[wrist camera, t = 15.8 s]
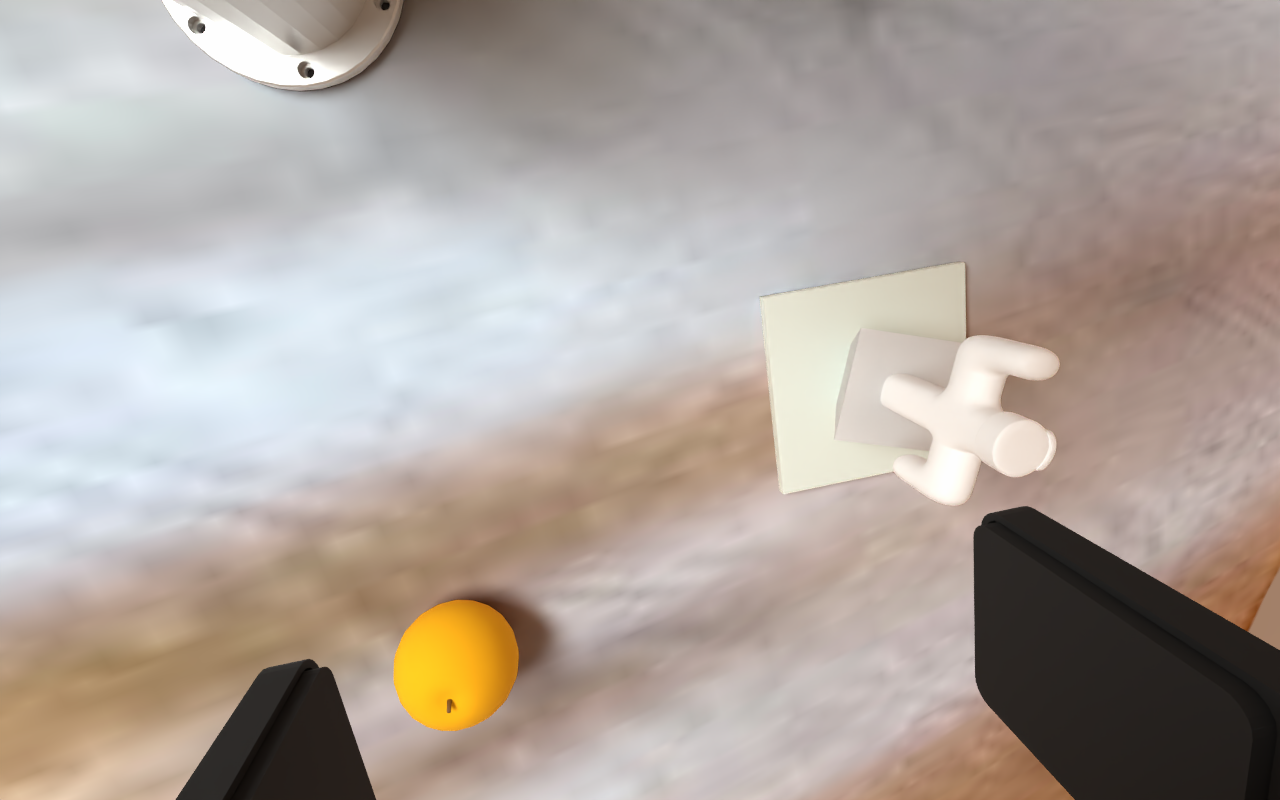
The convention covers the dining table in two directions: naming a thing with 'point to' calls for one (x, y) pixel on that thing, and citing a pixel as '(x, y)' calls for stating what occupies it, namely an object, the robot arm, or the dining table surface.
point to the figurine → (943, 407)
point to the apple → (456, 665)
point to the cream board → (844, 363)
